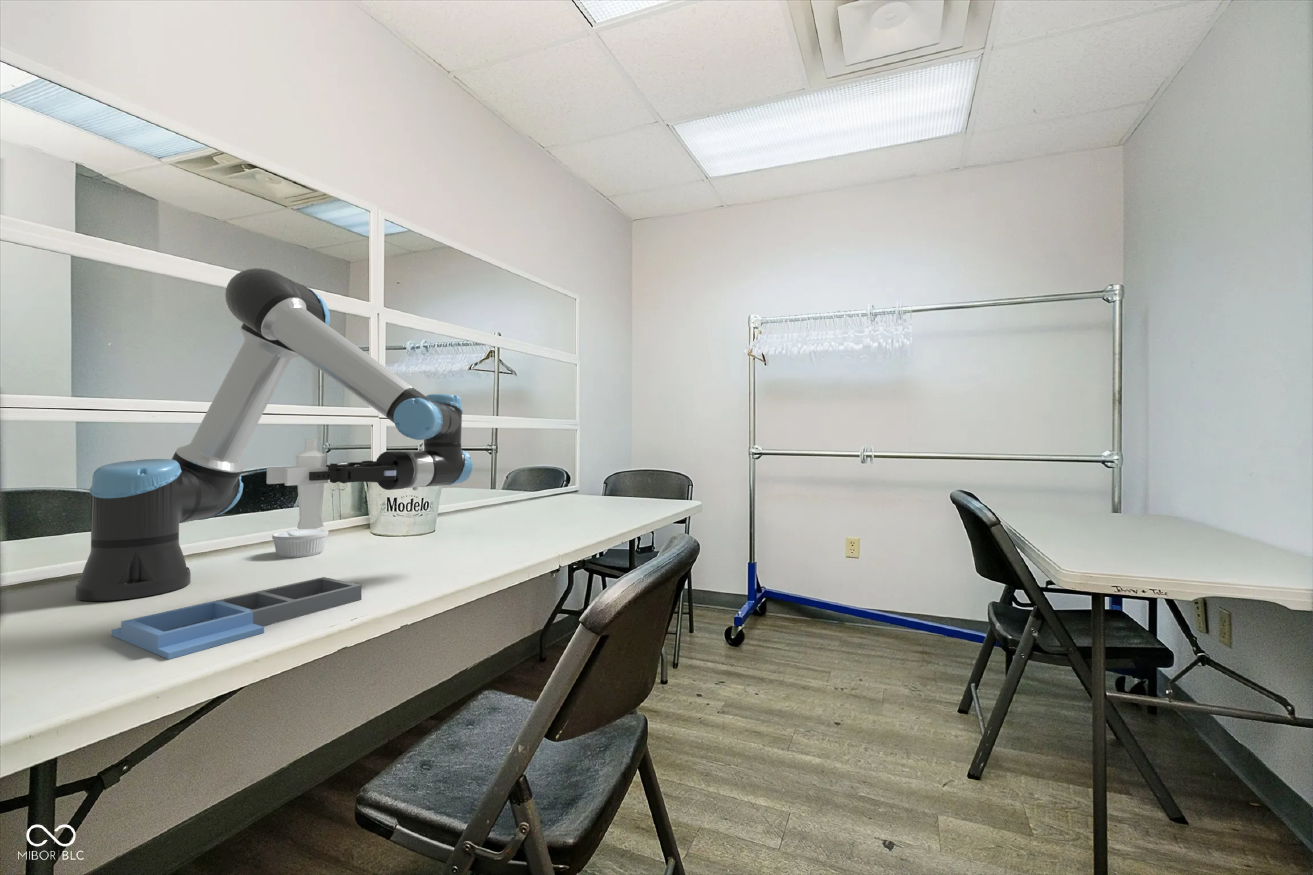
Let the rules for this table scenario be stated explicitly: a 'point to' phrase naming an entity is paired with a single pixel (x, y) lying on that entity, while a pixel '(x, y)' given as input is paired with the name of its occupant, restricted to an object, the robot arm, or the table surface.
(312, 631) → the table surface
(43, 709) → the table surface
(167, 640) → the compartment sorting tray
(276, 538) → the ramekin
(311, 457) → the perfume bottle
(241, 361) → the robot arm
